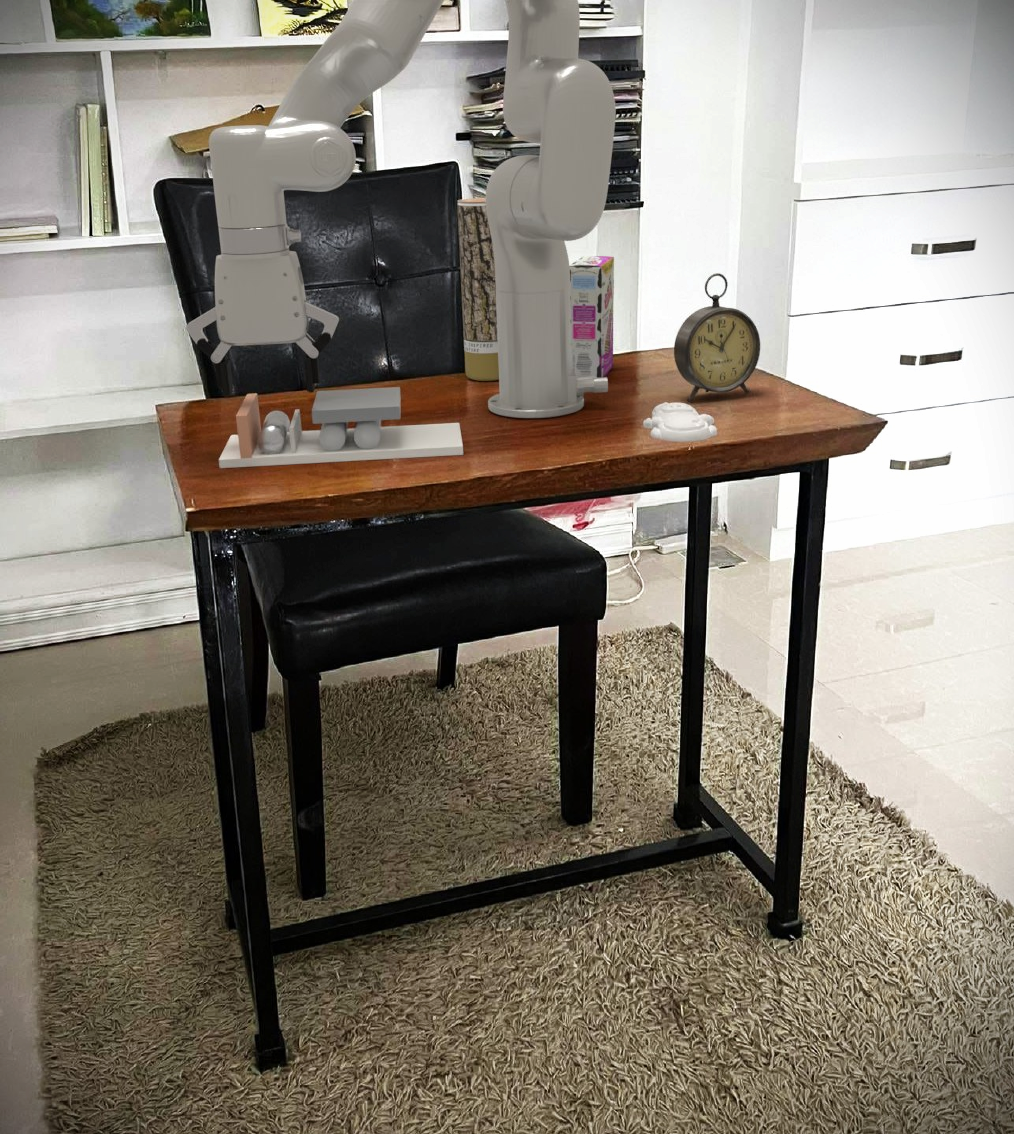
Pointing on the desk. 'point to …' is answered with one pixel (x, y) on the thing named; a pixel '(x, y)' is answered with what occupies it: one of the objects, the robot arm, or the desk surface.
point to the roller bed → (352, 451)
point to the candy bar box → (592, 315)
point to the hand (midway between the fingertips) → (270, 392)
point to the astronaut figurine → (679, 423)
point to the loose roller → (273, 432)
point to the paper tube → (478, 291)
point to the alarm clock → (717, 347)
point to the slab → (356, 405)
